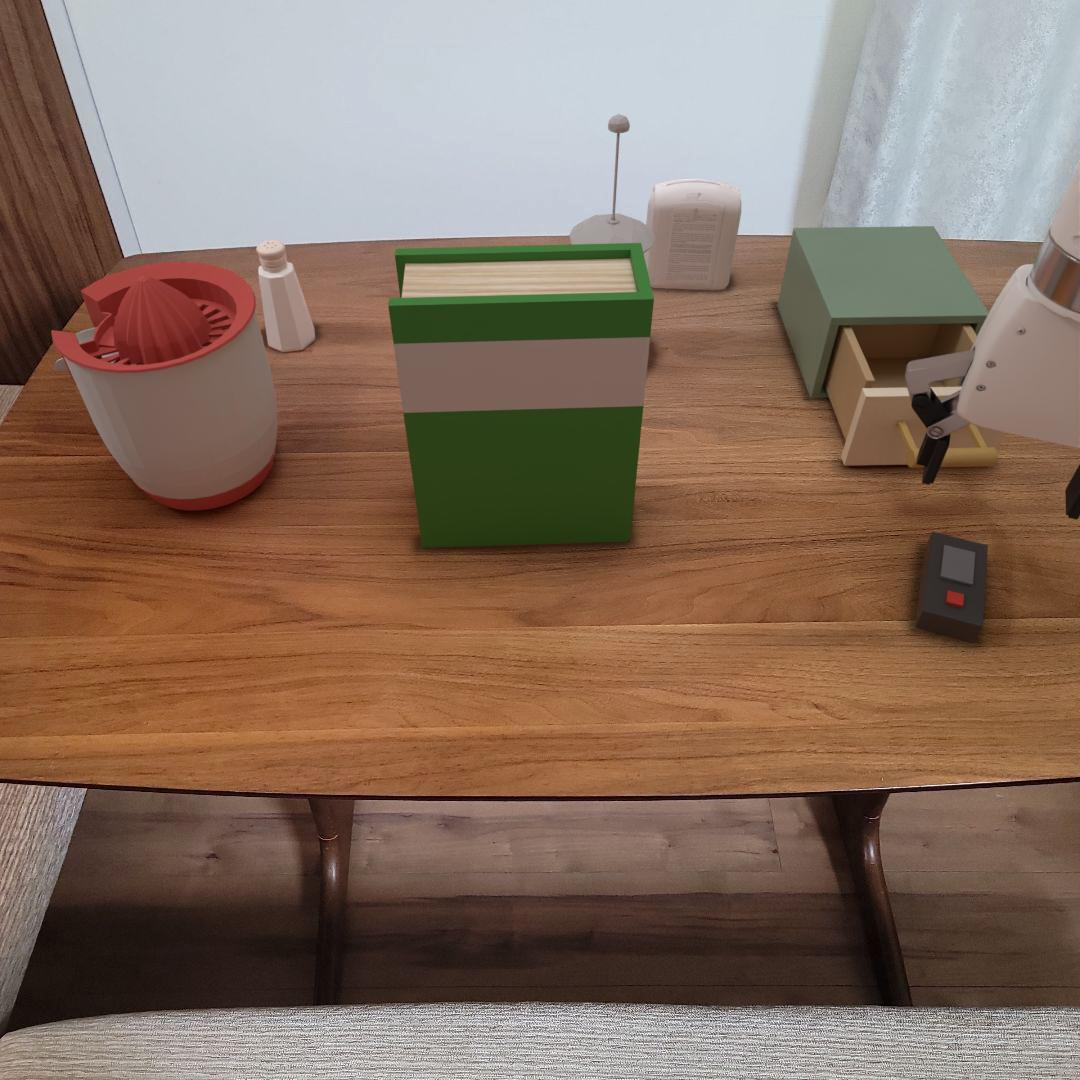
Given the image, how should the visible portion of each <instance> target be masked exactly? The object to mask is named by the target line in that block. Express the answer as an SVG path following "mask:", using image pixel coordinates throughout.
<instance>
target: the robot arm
mask: <svg viewBox="0 0 1080 1080" xmlns="http://www.w3.org/2000/svg"><path fill="white" fill-rule="evenodd" d="M988 312H989V314H988V316H987V318H986V320H985V321H984V323H983V325H982V327H981V329H980V331H979V333H978V335H977V337H976V339H975V342H974V344H973V346H972V348H971V350H968V351H963V352H957V353H952V354H946V355H941V356H936V357H930V358H925V359H919V360H914V361H910V362H909V363H908V364H907V366H906V371H905V381H906V385H907V388H908V392H909V396H910V398H911V402H912V403H911V406H912V409H913V410H914V411H915V413H916V414H917V415H918V417H919V418H920V420H921V421H922V422H923V424H924V425H925V427H926V428H927V432H926V434H925V437H924V439H923V442H922V444H921V447H920V450H919V453H918V457H917V462H916V464H917V465H922V466H924V467H923V472H922V478H921V479H922V480H921V483H922V484H925V485H931V484H934V482H935V481H936V478H937V475H938V473H939V470H940V468H941V467H940V466H941V464H942V461H943V459H944V457H945V454H946V452H947V450H948V447H949V444H950V435H951V433H953V432H955V431H957V430H959V429H961V428H963V427H965V426H967V425H969V424H973V425H976V426H980V427H983V428H988V429H992V430H996V431H1001V432H1005V433H1006V434H1011V435H1016V436H1019V437H1023V438H1024V437H1025V438H1027V439H1032V440H1036V441H1037V440H1038V441H1042V442H1047V443H1051V444H1056V445H1060V446H1065V447H1071V448H1075V449H1080V158H1078V161H1077V164H1076V166H1075V168H1074V171H1073V173H1072V176H1071V178H1070V180H1069V182H1068V185H1067V187H1066V189H1065V191H1064V194H1063V196H1062V199H1061V201H1060V204H1059V206H1058V208H1057V210H1056V212H1055V214H1054V217H1053V220H1052V222H1051V224H1050V226H1049V228H1048V231H1047V233H1046V235H1045V237H1044V240H1043V242H1042V244H1041V247H1040V249H1039V251H1038V254H1037V256H1036V259H1035V261H1034V263H1025V264H1022V265H1020V266H1019V267H1018V268H1017V269H1016V270H1015V271H1014V272H1013V273H1012V275H1011V276H1010V278H1009V279H1008V280H1007V282H1006V283H1005V285H1004V286H1003V288H1002V290H1001V291H1000V293H999V294H998V296H997V298H996V299H995V302H994V303H993V305H992V307H991V309H990V311H988ZM955 378H959V382H958V385H959V386H961V387H962V388H961V390H959V391H957V392H955V393H953V394H951V395H949V396H947V397H945V398H943V399H941V400H939V398H938V397H937V396H936V394H935V393H934V391H933V390H932V388H931V387H930V383H932V382H937V381H943V380H949V379H955ZM1065 515H1066V516H1067V517H1068V519H1073V520H1075V521H1076V520H1078V519H1080V464H1079V465H1078V467H1077V468H1076V470H1075V472H1074V473H1073V475H1072V476H1071V479H1070V480H1069V482H1068V484H1067V486H1066V488H1065Z"/></svg>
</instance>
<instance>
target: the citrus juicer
mask: <svg viewBox="0 0 1080 1080" xmlns="http://www.w3.org/2000/svg"><path fill="white" fill-rule="evenodd" d="M80 293H81V296H82V299H83V301H84V304H85V307H86V310H87V313H88V315H89V319H90V321H91V323H92V325H93V327H91V328H87V329H84V330H81V331H79V332H76V333H75V332H68V331H61V330H53V329H51V333H50V334H51V338H52V344H53V345H54V347H55V348H56V350H57V352H58V353H59V354H60V355H61V357H62V358H60V359H57V360H56V361H55V362H54V364H53V369H54V372H55V373H57V372H59V373H61V372H69V375H70V378H71V379H72V382H73V383H74V386H76V387H77V390H78V391H79V393H80V397H81V398H82V400H83V402H84V405H85V407H86V409H87V412H88V413H89V417H90V418H91V421H92V423H93V425H94V427H95V428H96V430H97V432H98V434H99V436H100V438H101V440H102V441H103V444H104V445H105V447H106V448H107V450H108V451H109V453H110V454H111V456H112V457H113V458H114V460H115V461H116V463H118V466H120V468H121V470H123V471H124V472H125V474H127V475H128V477H129V478H130V479H131V480H132V482H133V483H134V484H135V485H136V487H138V488H139V489H140V490H142V491H143V492H144V493H145V494H146V495H148V496H149V497H150V498H152V499H153V500H154V501H155V502H157V503H159V504H161V505H163V506H165V507H166V508H167V507H169V508H171V509H174V510H180V511H189V512H190V511H205V510H213V509H216V508H220V507H224V506H227V505H230V504H232V503H235V502H237V501H239V500H241V499H243V498H245V497H247V496H248V495H249V494H251V493H253V491H255V490H256V489H258V488H259V487H260V486H261V485H262V484H263V482H264V481H265V480H266V478H267V477H268V476H269V474H270V472H271V470H272V467H273V463H274V459H275V456H276V450H277V447H278V427H279V421H278V420H279V419H278V402H277V400H278V399H277V395H276V389H275V383H274V378H273V374H272V370H271V365H270V362H269V358H268V354H267V350H266V346H265V344H264V339H263V336H262V332H261V328H260V325H259V324H260V323H259V320H258V316H257V313H256V312H257V311H256V308H257V302H256V300H257V299H256V294H255V293H254V290H253V288H252V287H251V285H250V284H249V283H248V282H247V281H246V280H245V278H243V277H242V276H240V275H239V274H237V273H235V271H232V270H229V269H226V268H224V267H221V266H218V265H214V264H209V263H204V262H196V261H195V262H194V261H165V262H157V263H150V264H145V265H141V266H140V265H139V266H135V267H131V268H127V269H124V270H121V271H118V272H114V273H112V274H110V275H108V276H106V277H102V278H100V279H98V280H96V281H94V282H93V283H90V284H89V285H88V286H86V287H85V288H83V289H81V290H80Z"/></svg>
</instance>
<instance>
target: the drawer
mask: <svg viewBox="0 0 1080 1080" xmlns="http://www.w3.org/2000/svg"><path fill="white" fill-rule="evenodd" d="M976 337H977V335H976V333H975V332H974V330H973V329H972V327H971V325H970V324H969V323H962V324H894V325H839V327H838V330H837V334H836V338H835V341H834V345H833V349H832V352H831V356H830V360H829V364H828V367H827V371H826V375H825V378H824V382H823V383H824V385H825V388H826V391H827V393H828V396H829V398H828V399H829V401H830V404H831V406H832V410H833V412H834V414H835V417H836V420H837V422H838V424H839V428H840V430H841V432H842V435H843V438H844V441H845V443H844V445H843V450H842V453H841V456H840V458H841V461H842V463H843V466H893V465H894V466H897V465H899V466H901V465H903V466H905V465H906V466H908V467H909V468H924V466H922V465H917V464H916V462H917V457H918V453H919V450H920V447H921V444H922V442H923V439H924V437H925V434H926V432H927V428H926V427H925V425H924V424H923V422H922V421H921V420H920V418H919V417H918V415H917V414H916V413H915V411H914V410H913V409H912V406H911V403H912V402H911V398H910V396H909V392H908V388H907V385H906V381H905V371H906V366H907V364H908V363H909V362H910V361H914V360H919V359H925V358H930V357H936V356H941V355H946V354H952V353H957V352H963V351H968V350H971V348H972V346H973V344H974V342H975V339H976ZM958 382H959V378H955V379H949V380H943V381H937V382H932V383H930V387H931V388H932V390H933V391H934V393H935V394H936V396H937V397H938V398H939V400H941V399H943V398H945V397H947V396H949V395H951V394H953V393H955V392H957V391H959V390H961V388H962V387H961V386H959V385H958ZM1006 434H1007V433H1005V432H1001V431H996V430H992V429H988V428H983V427H980V426H976V425H973V424H969V425H967V426H965V427H963V428H961V429H959V430H957V431H955V432H953V433H951V435H950V444H949V447H948V450H947V452H946V454H945V457H944V459H943V461H942V464H941V466H940V468H965V467H973V468H975V467H994V466H995V465H996V464H997V463H998V457H999V456H998V450H999V449H1000V446H1001V444H1002V443H1003V440H1004V438H1005V436H1006Z"/></svg>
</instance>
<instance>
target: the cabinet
mask: <svg viewBox="0 0 1080 1080" xmlns="http://www.w3.org/2000/svg"><path fill="white" fill-rule="evenodd" d="M936 229H937V228H936V227H935V226H933V225H921V226H919V225H918V226H916V225H914V226H913V225H912V226H849V227H848V226H846V227H844V226H842V227H841V226H840V227H835V226H834V227H794V228H793V229H792V234H791V239H790V243H789V247H788V252H787V258H786V261H785V267H784V272H783V277H782V282H781V287H780V291H779V295H778V301H777V305H776V306H777V309H778V311H779V315H780V317H781V320H782V323H783V325H784V328H785V331H786V334H787V337H788V339H789V342H790V345H791V348H792V351H793V353H794V356H795V359H796V361H797V364H798V368H799V370H800V373H801V376H802V378H803V382H804V384H805V386H806V387H805V388H806V389H807V390H806V391H807V393H808V396H809V399H830V398H829V396H828V393H827V391H826V388H825V385H824V383H823V382H824V378H825V375H826V371H827V367H828V364H829V360H830V356H831V352H832V349H833V345H834V341H835V338H836V334H837V330H838V327H839V325H894V324H962V323H969V324H970V325H971V327H972V329H973V330H974V332H975V333H976V335H978V333H979V331H980V329H981V327H982V325H983V323H984V321H985V320H986V318H987V316H988V314H989V312H990V311H988V309H987V307H986V306H985V304H984V302H983V301H982V299H981V297H980V296H979V295H978V293H977V291H976V290H975V289H974V287H973V286H972V284H971V282H970V281H969V279H968V278H967V276H966V275H965V273H964V271H963V270H962V268H961V267H960V265H959V264H958V262H957V260H956V259H955V257H954V256H953V254H952V253H951V251H950V250H949V248H948V246H947V245H946V243H945V242H944V240H943V239H942V237H941V235H940V233H938V231H937V230H936Z"/></svg>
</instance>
